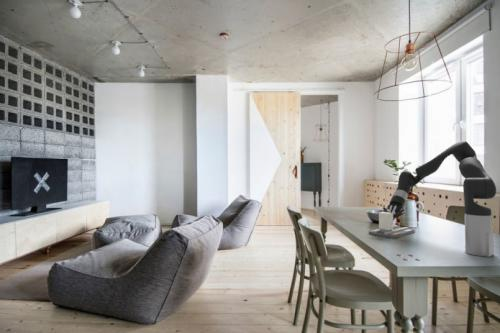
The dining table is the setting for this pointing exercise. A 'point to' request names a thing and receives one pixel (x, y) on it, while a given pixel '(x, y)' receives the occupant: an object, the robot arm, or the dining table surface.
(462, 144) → the robot arm
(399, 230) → the grey tray
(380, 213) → the white upright block
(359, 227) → the dining table surface
